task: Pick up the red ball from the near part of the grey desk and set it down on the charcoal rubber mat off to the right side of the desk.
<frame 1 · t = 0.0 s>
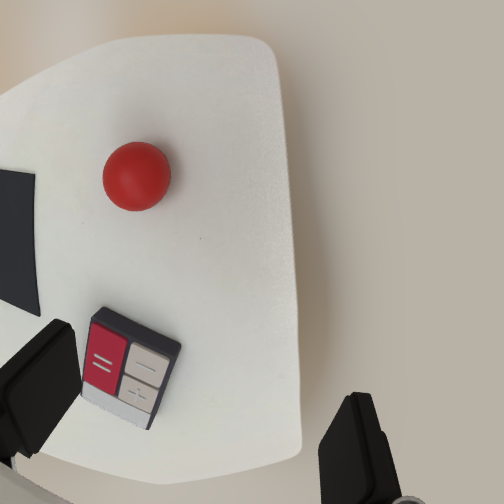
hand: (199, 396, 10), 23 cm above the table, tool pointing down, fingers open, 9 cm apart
side mat: (2, 240, 35), on the table
red ball: (136, 176, 27), point 3 cm above the table
calculator: (130, 365, 39), on the table
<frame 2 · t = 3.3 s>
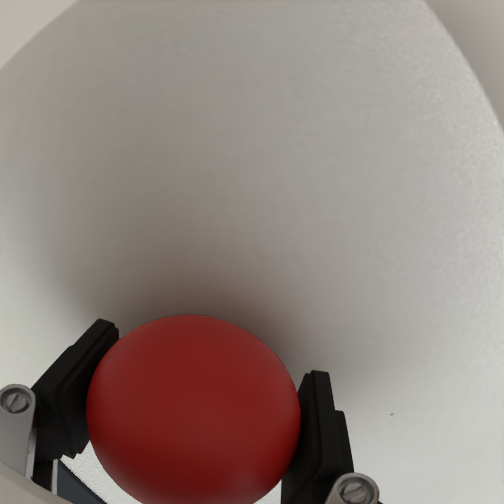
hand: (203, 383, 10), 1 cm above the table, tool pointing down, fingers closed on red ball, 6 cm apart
side mat: (44, 479, 19), on the table
red ball: (192, 418, 9), point 3 cm above the table, touching gripper
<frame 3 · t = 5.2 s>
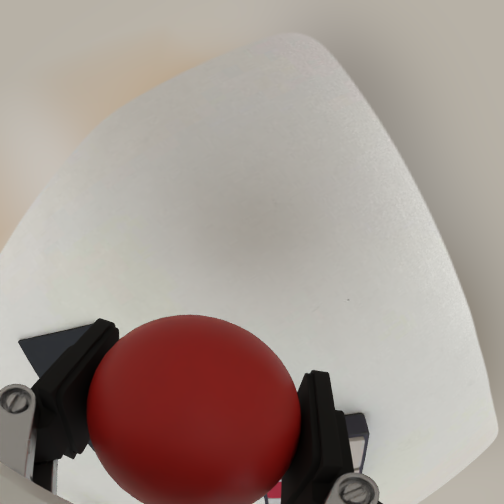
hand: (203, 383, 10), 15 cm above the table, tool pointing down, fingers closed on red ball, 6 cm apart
side mat: (96, 404, 31), on the table
red ball: (193, 418, 9), point 16 cm above the table, touching gripper
calculator: (310, 457, 31), on the table
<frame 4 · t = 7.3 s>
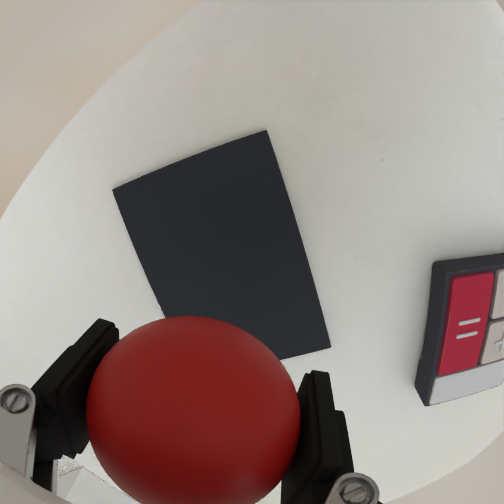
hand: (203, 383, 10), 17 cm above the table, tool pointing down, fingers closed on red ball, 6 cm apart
side mat: (224, 271, 28), on the table
tissue box: (119, 503, 47), on the table
red ball: (192, 419, 9), point 19 cm above the table, touching gripper
calculator: (466, 322, 27), on the table
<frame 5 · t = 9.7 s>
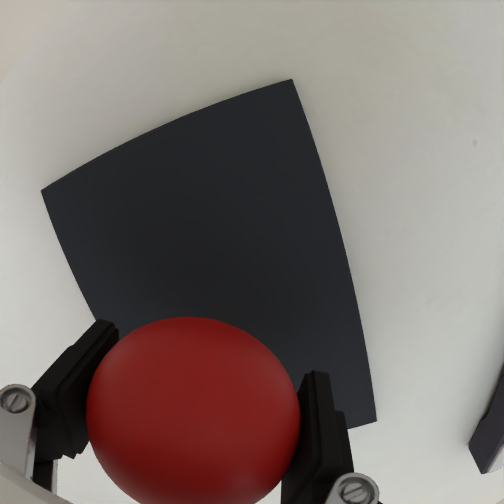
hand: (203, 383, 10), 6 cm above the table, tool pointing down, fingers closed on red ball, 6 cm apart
side mat: (218, 323, 16), on the table
red ball: (192, 419, 9), point 8 cm above the table, touching gripper
when the fingers open (2 cm above the table, at t = 11.3 s): red ball stays where it is, resting on side mat.
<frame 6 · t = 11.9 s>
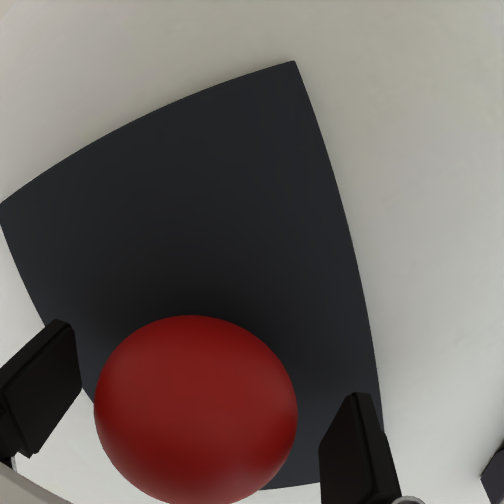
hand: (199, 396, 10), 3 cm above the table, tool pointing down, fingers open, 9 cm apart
side mat: (203, 369, 13), on the table
red ball: (195, 413, 9), point 4 cm above the table, touching side mat
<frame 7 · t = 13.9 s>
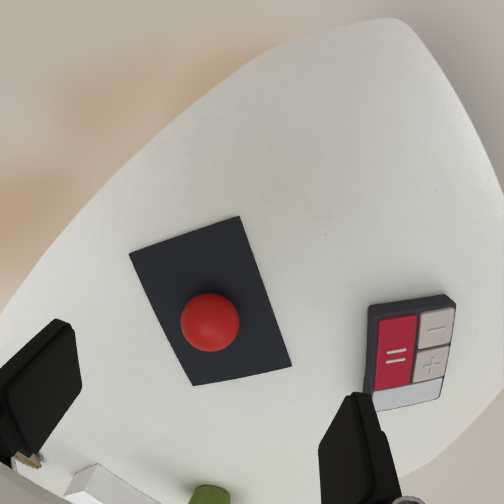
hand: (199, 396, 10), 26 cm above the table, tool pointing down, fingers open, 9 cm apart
side mat: (212, 312, 38), on the table
tissue box: (128, 496, 56), on the table
red ball: (209, 322, 34), point 4 cm above the table, tilted 9°, touching side mat
calculator: (403, 348, 38), on the table
tan rough lump: (29, 448, 56), on the table
plant pot: (213, 492, 51), on the table
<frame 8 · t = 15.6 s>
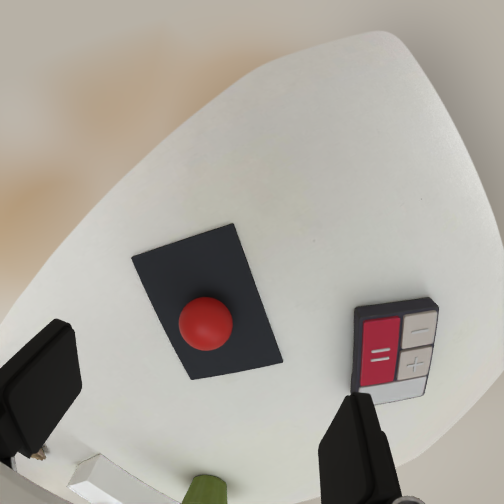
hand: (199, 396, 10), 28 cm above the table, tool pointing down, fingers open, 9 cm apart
side mat: (208, 312, 41), on the table
tissue box: (129, 485, 60), on the table
red ball: (205, 323, 37), point 4 cm above the table, tilted 15°, touching side mat
calculator: (389, 347, 41), on the table
tan rough lump: (34, 440, 60), on the table
plant pot: (210, 481, 55), on the table
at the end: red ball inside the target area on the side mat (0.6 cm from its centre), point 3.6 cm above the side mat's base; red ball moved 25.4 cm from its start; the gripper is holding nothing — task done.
